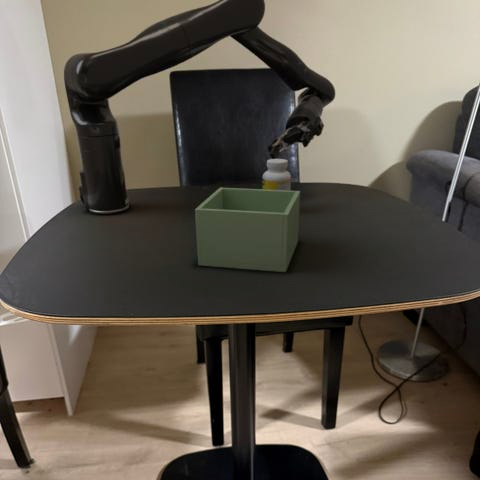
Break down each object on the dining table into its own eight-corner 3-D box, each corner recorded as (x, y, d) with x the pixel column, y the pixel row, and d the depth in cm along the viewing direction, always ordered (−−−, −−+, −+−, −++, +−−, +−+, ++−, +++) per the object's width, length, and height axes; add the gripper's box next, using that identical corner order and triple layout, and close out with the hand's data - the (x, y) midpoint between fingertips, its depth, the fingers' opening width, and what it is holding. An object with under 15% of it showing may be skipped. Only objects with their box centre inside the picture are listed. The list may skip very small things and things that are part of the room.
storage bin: (198, 265, 84) (194, 209, 80) (221, 236, 98) (219, 187, 93) (285, 272, 81) (288, 214, 76) (297, 241, 94) (300, 190, 90)
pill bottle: (260, 208, 116) (260, 158, 110) (287, 207, 116) (288, 157, 111) (264, 216, 110) (264, 163, 105) (292, 214, 111) (294, 162, 105)
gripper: (273, 119, 128) (256, 147, 117) (321, 96, 120) (307, 124, 109) (286, 144, 132) (270, 173, 121) (334, 123, 123) (321, 152, 113)
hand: (288, 150), depth 115 cm, fingers open, 8 cm apart
